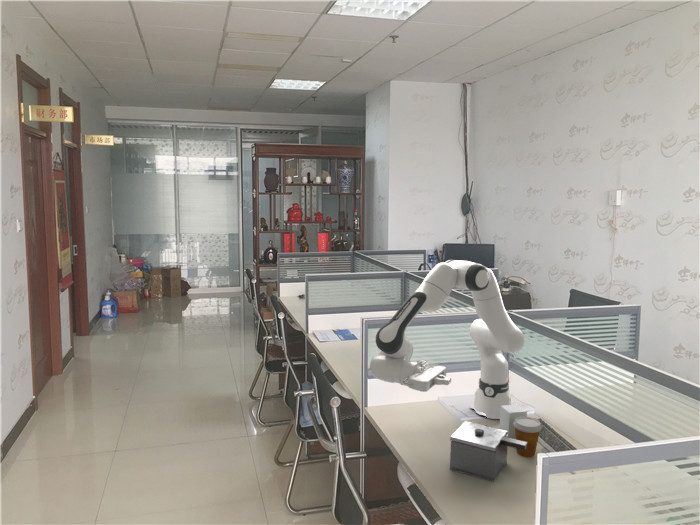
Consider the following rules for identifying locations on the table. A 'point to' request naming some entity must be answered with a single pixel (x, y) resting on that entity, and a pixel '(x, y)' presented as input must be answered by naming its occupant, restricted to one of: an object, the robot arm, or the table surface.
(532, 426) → the disposable coffee cup
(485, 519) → the table surface
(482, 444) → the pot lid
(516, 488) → the table surface
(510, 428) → the supplement box
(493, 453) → the open gray square box
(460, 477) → the table surface
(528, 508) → the table surface
